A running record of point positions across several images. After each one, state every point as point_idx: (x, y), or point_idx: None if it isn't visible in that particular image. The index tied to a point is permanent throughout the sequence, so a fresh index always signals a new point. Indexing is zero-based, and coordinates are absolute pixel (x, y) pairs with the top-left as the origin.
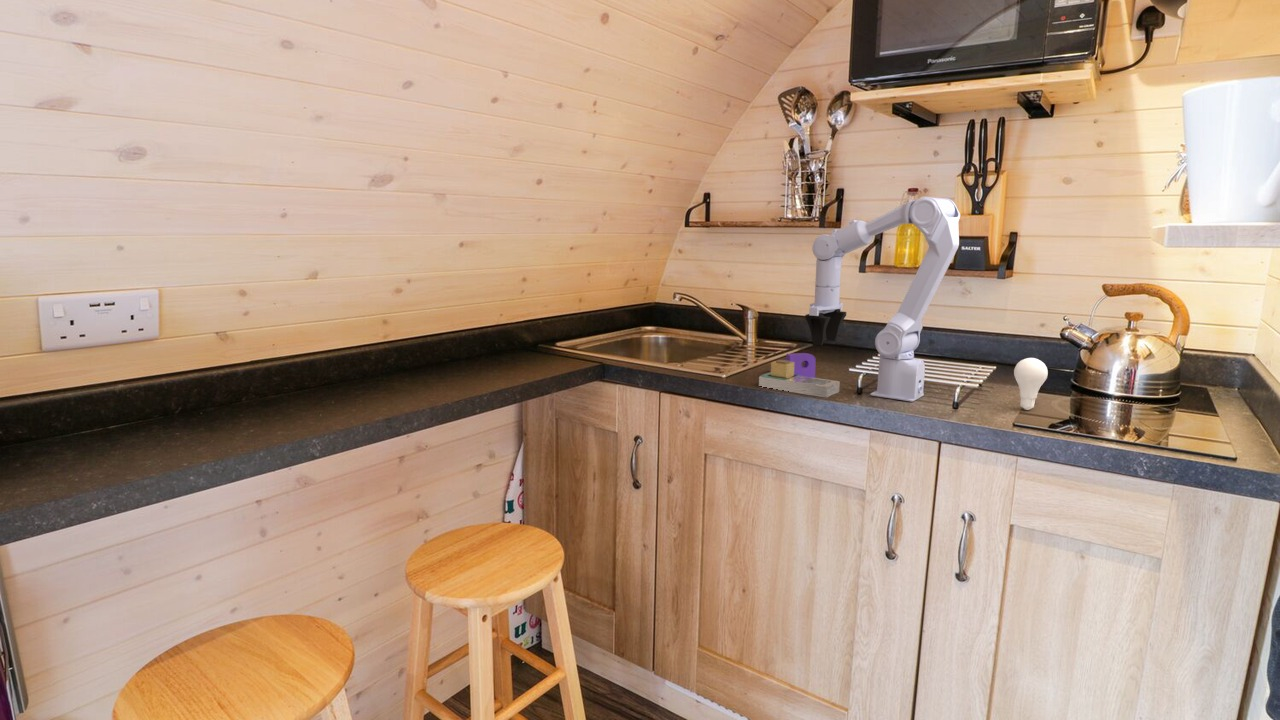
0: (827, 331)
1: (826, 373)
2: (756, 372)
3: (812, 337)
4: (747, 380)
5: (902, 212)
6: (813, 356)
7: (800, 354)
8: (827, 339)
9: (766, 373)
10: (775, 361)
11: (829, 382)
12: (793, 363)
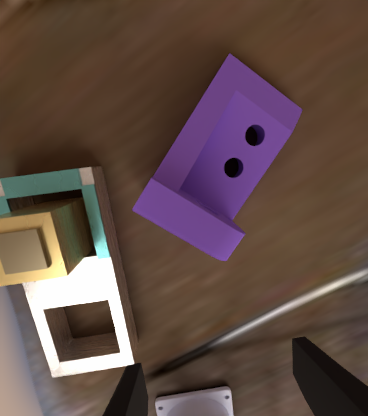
0: (330, 386)
1: (315, 206)
2: (179, 31)
3: (109, 405)
4: (54, 93)
5: None
6: (223, 259)
7: (183, 229)
8: (294, 346)
9: (36, 175)
10: (10, 220)
11: (100, 356)
12: (60, 275)
